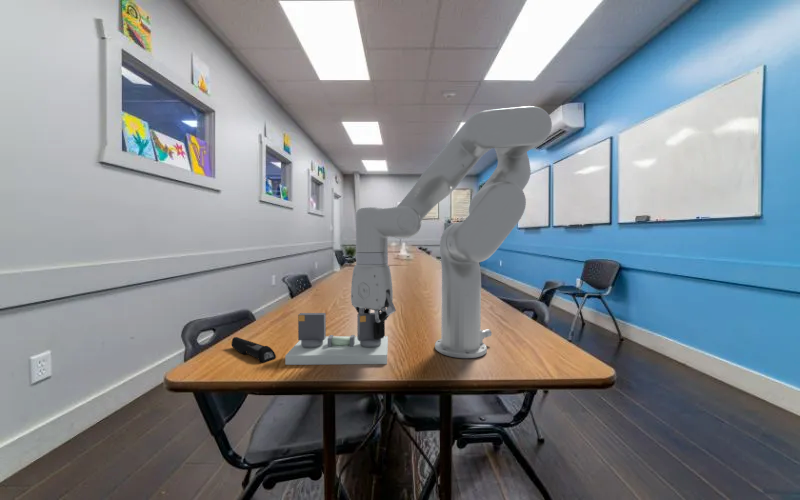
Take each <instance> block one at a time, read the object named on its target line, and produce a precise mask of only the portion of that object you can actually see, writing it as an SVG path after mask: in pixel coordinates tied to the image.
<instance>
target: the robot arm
mask: <svg viewBox="0 0 800 500" xmlns="http://www.w3.org/2000/svg"><path fill="white" fill-rule="evenodd" d="M552 129H553V122H552V118H551V116H550V114H549V113H548V111H546V110H545V109H544V108H542V107H538V106H533V105H532V106H531V105H528V106H516V107H506V108H504V107H503V108H496V109H495V108H494V109H488V110H487V109H486V110H483V111H479V112H475V113H474V114H472V115H471V116H470V117H469V118H468V119H467V120H466V121H465V122H464V124H463V125H462V126H461V127H460V128H459V130H458V131H457V132H456V133H455V134H454V135H453V136H452V138H451V139H450V140H449V141H448V143H447V144H446V145H445V146H444V147H443V148H442V150H441V151H440V152H439V153H438V154H437V156H435V158H434V159H433V160H432V161H431V163H430V164H429V165H428V166H427V167H426V168H425V170H424V171H423V172H422V173H421V175H420V177H419V179H418V180H417V181H416V183H415V184H414V185H413V186H412V188H411V189H410V191H409V192H408V193H407V194H406V196H405V197H403V199H402V200H401V201H400V203H399V204H398V205H397V206H395V207H385V208H382V207H376V206H375V207H369V206H368V207H361V208H359V209H357V210H356V213H355V250H356V251H355V252H356V253H355V261H356V262H355V265H354V266H353V270H352V274H351V275H352V276H351V277H352V278H351V285H350V286H351V287H350V288H351V289H350V290H351V291H350V302H351V306H352V307H354V309H355V310H356V312H357V314H364V313H371V310H372V311H374V312H375V320H376V322H374V339H376V340H377V339H379V338H382V337H384V336H385V334H386V332H385V331H386V330H385V329H386V328H385V324H386V321H387V320H388V318H389V317H390V316H391V315H392V314H393V313H395V312H396V311H397V309H396V307H395V304H394V303H393V301H394V300H393V299H394V297H393V296H394V295H393V280H392V274H391V269H390V266H389V264H388V263H389V261H388V260H389V259H388V258H389V257H388V256H389V254H388V252H389V251H388V247H389V245H388V244H389V243H388V241H389V240H388V239H389V238H388V237H390V238H395V239H401V240H402V239H403V240H405V239H410V238H412V237H414V236H416V235H417V234H418V232H419V231H420V229H421V227H422V221H423V220H424V219H425V217H426V216H427V215H428V214H429V213H430V212H431V211H432V210H433V208H435V206H437V205H438V204H439V203H440V202H442V201H443V200H444V199H446V198H447V197H449V195H450V194H452V193H453V191H455V189H456V188H457V187H458V186H459V184H460V183H461V182H462V181H463V179H465V178H466V176H468V174H469V173H470V172H471V170H472V169H473V167H475V165H476V164H477V163H478V162H479V161H480V159H481V158H482V157H483V156H484V155H485V154H486V153H487V152H489V151H491V150H492V149H494V150H495V154H496V159H497V166H496V168H495V169H494V170H493V172H492V174H491V175H490V177H488V179H487V181H485V183H484V184H483V185H482V187H481V188H480V189H479V190H478V191H477V192H476V194H474V196H473V197H472V199H471V201H470V203H469V206H468V216H467V217H466V218H465V219H464V220H463V221H458V222H454V223H452V224H450V225H449V226H447V227H446V228H445V229H444V231H443V232H442V233H441V234H442V235H441V236H440V241H439V252H440V261H441V262H440V263H441V338H439V339H438V340H436V341H435V343H434V348H435V350H436V351H437V352H439V353H440V354H442V355H444V356H447V357H451V358H456V359H457V358H458V359H475V358H480V357H482V356H484V355H486V353H487V350H488V347H487V345H486V344H485V343H484V342H483V341H484V339H485V338H489V337H491V336H492V334H493V333H492V331H491V329H489V328H488V329H487V328H486V329H481V317H482V316H481V315H482V314H481V313H482V311H481V310H482V307H481V306H482V304H481V303H482V302H481V301H482V295H481V294H482V274H481V266H480V263H481V262H484V261H486V260H488V259H489V258H491V257H492V256H493V254H495V253H496V251H497V250H498V249H499V248H500V247H501V245H502V244H503V243H504V241H505V240H506V239H507V238H508V236H509V235H510V234H511V232H512V231H513V230H514V228H515V227H516V226H517V225H518V223H519V222H520V220H521V219H522V217H523V216H524V213H525V210H526V205H527V204H526V203H527V199H526V195H525V193H524V189H525V188H526V186H527V184H528V183H529V181H530V178H531V170H532V169H531V164H530V163H531V162H530V158H529V156H528V153H527V152H529V151H531V150H532V149H535V148H536V147H538V146H539V145H541V144H542V143H544V141H546V140H547V138H548V137H549V135H550V133H551V131H552ZM374 312H373V313H374ZM380 312H381V314H380Z"/></svg>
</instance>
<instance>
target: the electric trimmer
mask: <svg viewBox="0 0 800 500" xmlns="http://www.w3.org/2000/svg"><path fill="white" fill-rule="evenodd" d="M231 347H232V348H233V349H235V350H236V351H237V352H239V354H242V355H250V356H252V357H254V358H257V360H258V361H259V362H260V363H264V364H265V363H269V362H271V361H274V360H276V358H277V356H276V353H275V351H274V350H273V348H271V347H270V346H268V345H262V344H260V343H256V342H253V341H251V340H250V341H249V340H248V339H247V340H246V339H244V338H241V337H237V336H234V337H233V338H232V340H231Z"/></svg>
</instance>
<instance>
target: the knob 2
mask: <svg viewBox="0 0 800 500" xmlns="http://www.w3.org/2000/svg"><path fill="white" fill-rule="evenodd" d="M380 314H381V311H380ZM356 320H357V332H356V333H357V335H356V336H357V339H358V340H359V341H360V345H361V346H363V347H376V346H379V345H381V338H379V339H377V340H376V339H374V322H376V320H375V312H370V313H364V314H358V313H357V319H356ZM382 338H384V337H382Z"/></svg>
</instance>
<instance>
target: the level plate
mask: <svg viewBox="0 0 800 500" xmlns="http://www.w3.org/2000/svg"><path fill="white" fill-rule="evenodd" d="M388 339H389V336H388V335H386V336H384V338H381V345H379V346H376V347H363V346H361V345H360V341H359V340H358V339H357V335H356V336H355V334H351V335H350V336H348V335H347V336H345V335H344V336H341V335H340V336H338V335H337V336H336V335H334V334H329V335H326V338H325V339H324V340H323V344H322V345H320V346H317V347H311V348H307V347H303V346H301V340H298V342H297V343H296V344H295V345H294V346H293V347H292V348H291V349H290V350H289V351H288V352H287V353H286V354H285V359H284V361H285V365H286V366H290V365H291V366H293V365H295V366H296V365H298V366H299V365H301V366H302V365H303V366H305V365H307V366H309V365H311V366H315V365H316V366H317V365H320V366H321V365H388V348H389V346H388V345H389V340H388Z"/></svg>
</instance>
